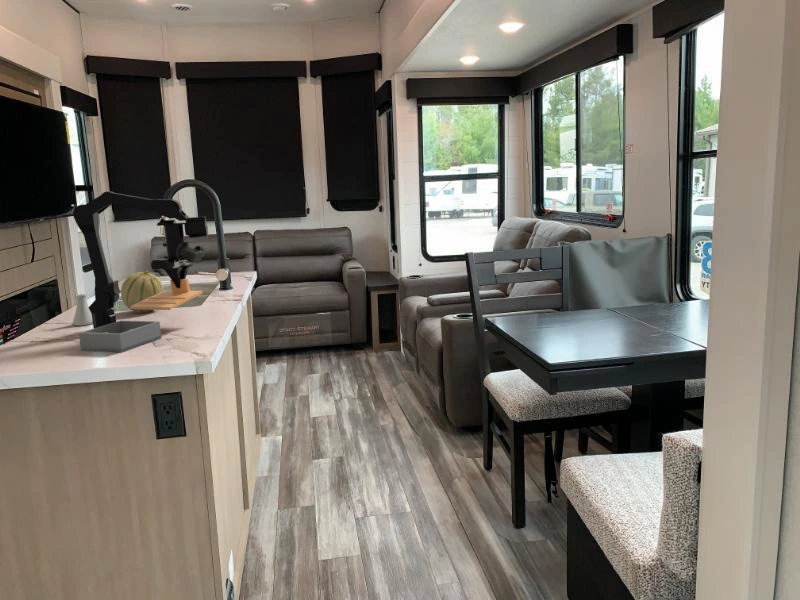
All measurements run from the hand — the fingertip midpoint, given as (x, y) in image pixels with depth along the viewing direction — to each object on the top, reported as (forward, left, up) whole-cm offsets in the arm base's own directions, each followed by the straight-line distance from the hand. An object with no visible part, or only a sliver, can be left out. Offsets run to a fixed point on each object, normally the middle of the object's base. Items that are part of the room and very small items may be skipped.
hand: (180, 287), depth 204 cm
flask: (-36, -5, -12) cm, 38 cm away
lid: (0, -7, -3) cm, 7 cm away
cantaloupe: (-29, +16, -12) cm, 35 cm away
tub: (0, -28, -12) cm, 30 cm away
